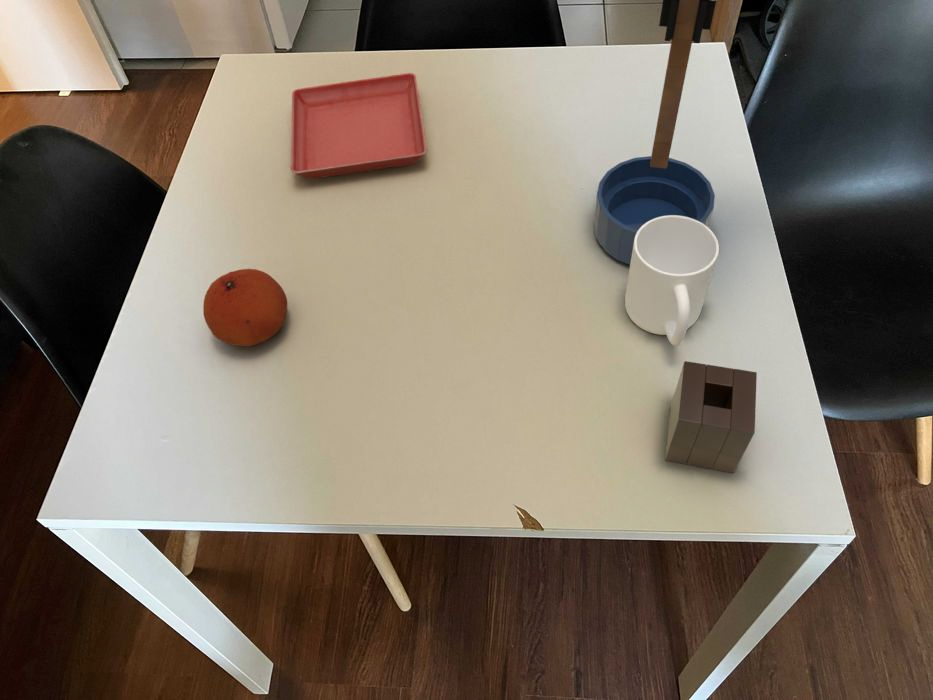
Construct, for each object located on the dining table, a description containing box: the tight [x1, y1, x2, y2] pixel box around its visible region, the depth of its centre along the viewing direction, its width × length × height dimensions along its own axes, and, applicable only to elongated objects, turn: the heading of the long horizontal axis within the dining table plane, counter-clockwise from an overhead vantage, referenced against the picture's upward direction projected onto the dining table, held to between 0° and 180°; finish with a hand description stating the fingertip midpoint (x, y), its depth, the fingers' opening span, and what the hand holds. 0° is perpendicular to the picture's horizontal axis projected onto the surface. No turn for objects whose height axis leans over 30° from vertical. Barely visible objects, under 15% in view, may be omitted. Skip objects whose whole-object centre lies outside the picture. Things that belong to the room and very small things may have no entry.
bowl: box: [593, 155, 716, 266], centre depth 84 cm, size 13×13×6 cm
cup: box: [624, 215, 720, 347], centre depth 75 cm, size 8×12×10 cm
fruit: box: [202, 268, 288, 347], centre depth 80 cm, size 9×9×8 cm
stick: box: [650, 0, 700, 168], centre depth 70 cm, size 2×2×20 cm
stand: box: [664, 360, 758, 474], centre depth 67 cm, size 6×6×8 cm
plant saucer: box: [290, 72, 428, 179], centre depth 100 cm, size 18×18×3 cm
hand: (683, 32), depth 66 cm, fingers closed on stick, 1 cm apart
